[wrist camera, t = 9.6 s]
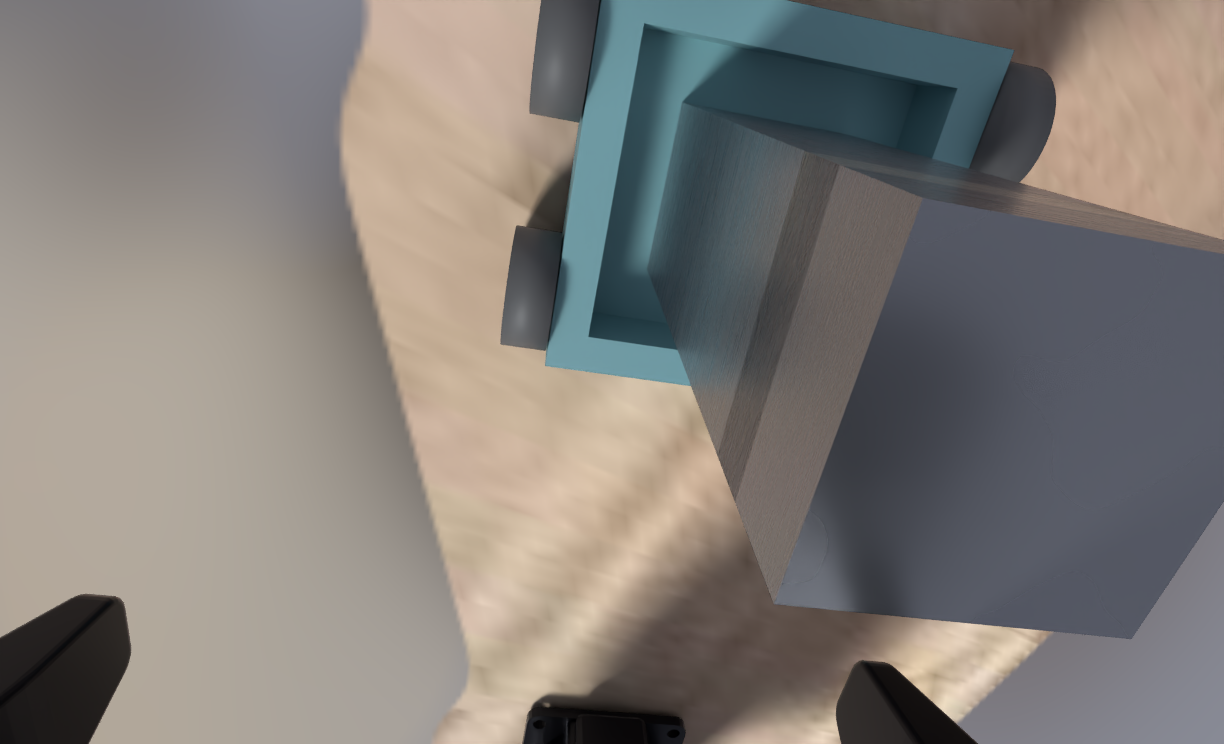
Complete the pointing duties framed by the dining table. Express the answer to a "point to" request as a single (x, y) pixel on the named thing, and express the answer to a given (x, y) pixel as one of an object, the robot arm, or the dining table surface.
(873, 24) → the chassis
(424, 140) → the dining table surface
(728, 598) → the dining table surface
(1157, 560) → the grey tall block
